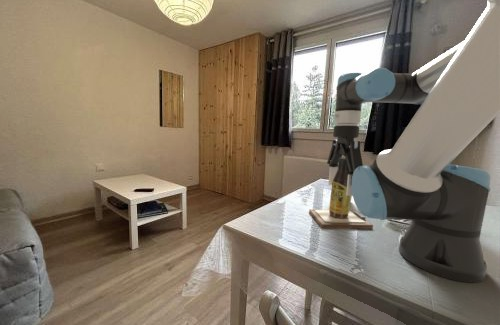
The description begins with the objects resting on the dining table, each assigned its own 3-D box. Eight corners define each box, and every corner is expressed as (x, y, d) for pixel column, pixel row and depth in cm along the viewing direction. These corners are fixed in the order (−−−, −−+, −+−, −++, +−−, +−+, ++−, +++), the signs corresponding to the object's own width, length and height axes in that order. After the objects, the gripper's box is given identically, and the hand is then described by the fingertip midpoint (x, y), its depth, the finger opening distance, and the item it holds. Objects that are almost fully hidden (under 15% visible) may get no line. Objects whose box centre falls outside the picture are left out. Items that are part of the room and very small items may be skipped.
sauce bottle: (324, 213, 73) (329, 156, 71) (338, 211, 76) (343, 156, 73) (339, 220, 67) (344, 159, 65) (353, 218, 70) (359, 158, 67)
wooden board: (372, 228, 66) (373, 222, 66) (322, 228, 65) (322, 221, 65) (351, 213, 79) (352, 207, 78) (309, 212, 78) (309, 206, 78)
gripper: (320, 126, 80) (317, 180, 83) (355, 123, 55) (348, 201, 58) (340, 126, 80) (335, 181, 83) (383, 124, 55) (374, 201, 58)
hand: (340, 189), depth 71 cm, fingers open, 13 cm apart
